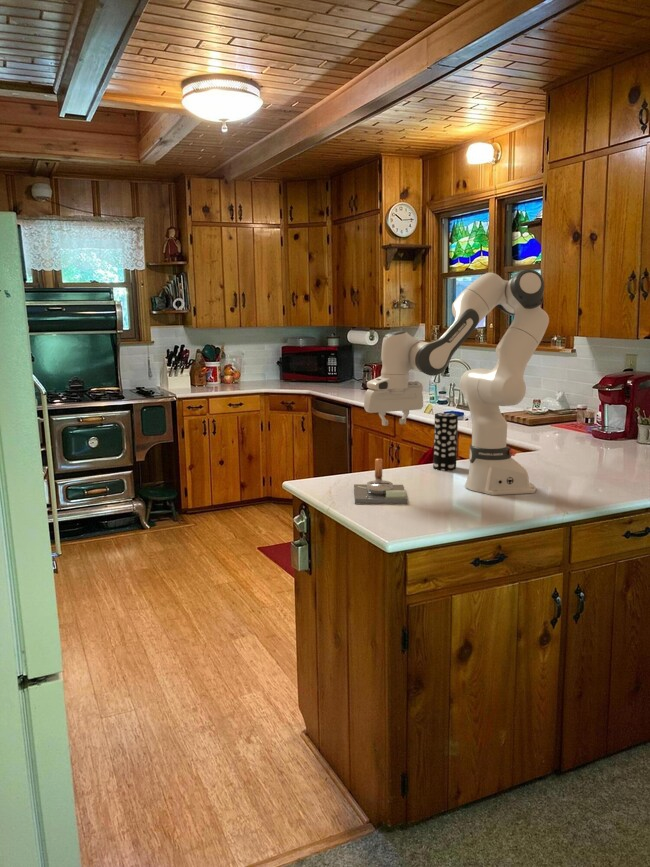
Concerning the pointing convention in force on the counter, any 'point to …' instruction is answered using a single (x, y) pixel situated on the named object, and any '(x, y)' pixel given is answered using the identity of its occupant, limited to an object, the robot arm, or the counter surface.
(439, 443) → the spotted tube
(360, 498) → the plate
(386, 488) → the copper silver knob
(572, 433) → the counter surface
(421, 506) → the counter surface
